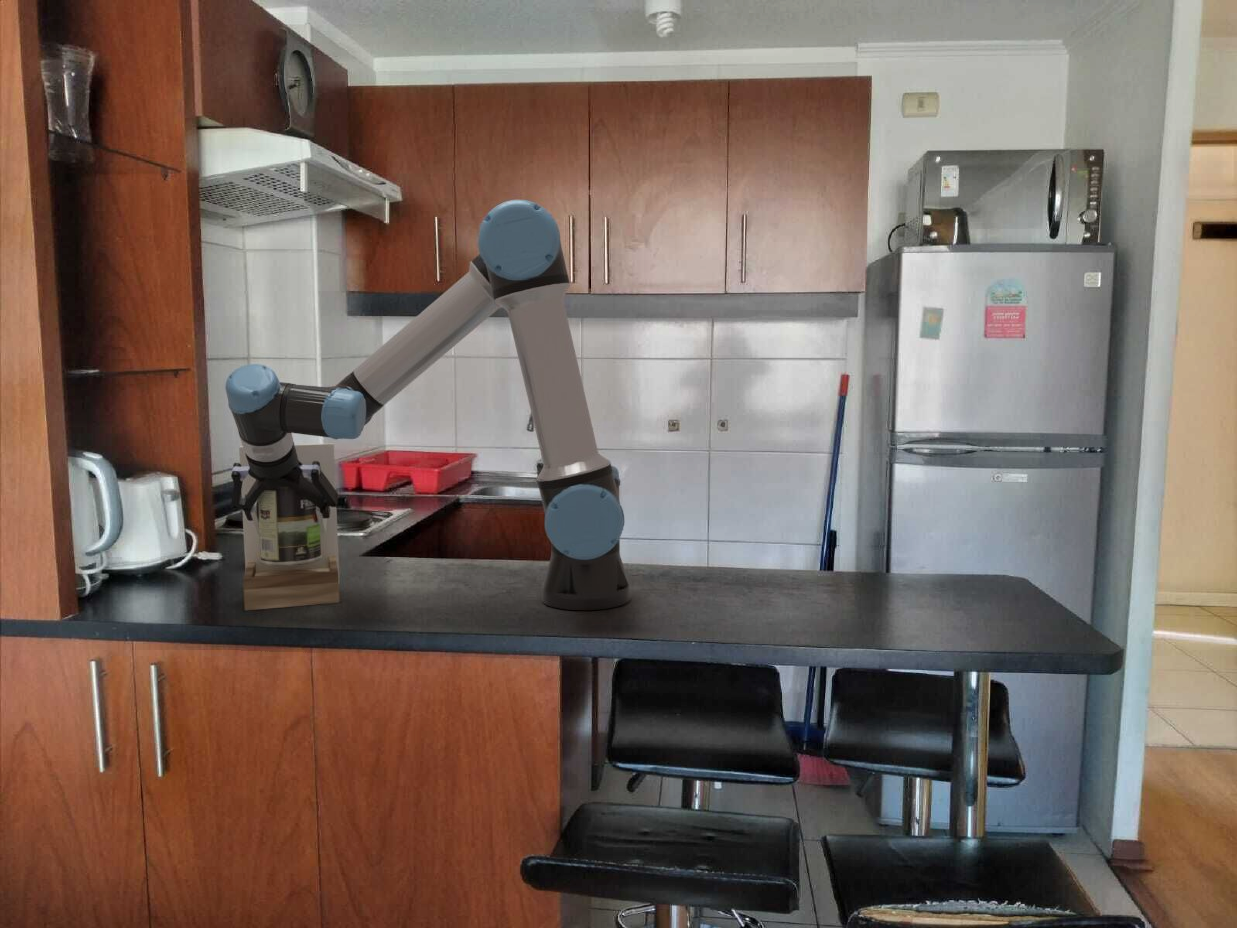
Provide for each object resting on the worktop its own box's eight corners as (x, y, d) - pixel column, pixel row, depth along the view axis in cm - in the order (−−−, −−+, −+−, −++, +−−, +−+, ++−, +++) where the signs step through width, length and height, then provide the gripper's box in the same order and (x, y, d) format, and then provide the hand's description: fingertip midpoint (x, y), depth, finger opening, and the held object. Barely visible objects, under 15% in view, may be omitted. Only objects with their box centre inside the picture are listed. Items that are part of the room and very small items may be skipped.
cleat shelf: (339, 602, 159) (338, 571, 158) (244, 610, 154) (243, 578, 153) (336, 584, 172) (335, 556, 171) (249, 591, 167) (248, 562, 166)
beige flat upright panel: (339, 584, 172) (333, 444, 169) (246, 591, 167) (239, 447, 164) (339, 581, 174) (333, 443, 171) (247, 589, 169) (239, 446, 166)
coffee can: (331, 554, 168) (328, 477, 166) (305, 566, 157) (302, 484, 156) (277, 553, 169) (274, 476, 168) (248, 565, 159) (244, 483, 157)
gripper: (189, 466, 144) (222, 547, 161) (340, 463, 147) (357, 542, 164) (198, 429, 149) (229, 512, 166) (344, 427, 152) (359, 508, 169)
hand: (292, 527), depth 165 cm, fingers closed on coffee can, 10 cm apart
